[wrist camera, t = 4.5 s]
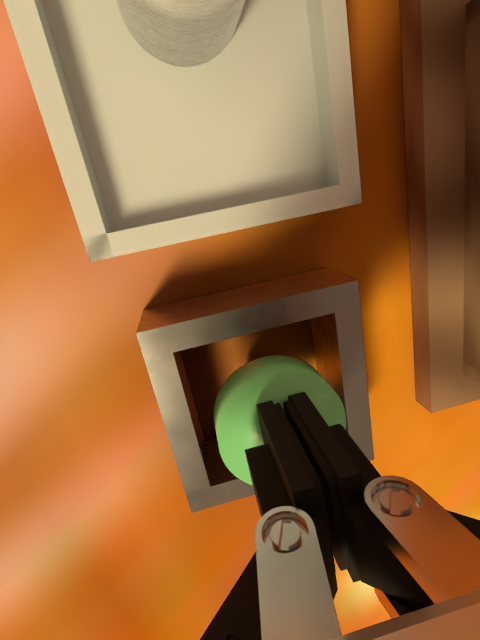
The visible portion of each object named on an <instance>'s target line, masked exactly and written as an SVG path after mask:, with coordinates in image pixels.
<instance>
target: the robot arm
mask: <svg viewBox="0 0 480 640" xmlns="http://www.w3.org/2000/svg"><path fill="white" fill-rule="evenodd" d="M256 408H257V412H258V417H259V422H260V427H261V432H262V436H263V441H264V444H263V445H260V446H256V447H252V448H249V449H245V454H246V459H247V463H248V467H249V471H250V476H251V480H252V484H253V488H254V491H255V495H256V499H257V503H258V506H259V510H260V513H261V519H260V520H259V522H258V524H257V526H256V530H255V544H256V552H255V554H254V555H253V557H252V559H251V560H250V562H249V563H248V565H247V567H246V568H245V570H244V571H243V573H242V574H241V576H240V578H239V579H238V581H237V582H236V584H235V585H234V587H233V589H232V590H231V592H230V593H229V595H228V596H227V598H226V600H225V601H224V603H223V604H222V606H221V607H220V609H219V611H218V612H217V614H216V615H215V617H214V618H213V620H212V622H211V623H210V625H209V626H208V628H207V629H206V631H205V633H204V634H203V636H202V637H201V639H200V640H480V520H477V519H473V518H470V517H467V516H464V515H460V514H457V513H454V512H451V511H448V510H445V509H444V508H443V507H442V506H441V505H440V504H438V503H437V502H436V501H435V500H434V499H433V498H432V497H430V496H429V495H428V494H427V493H426V492H425V491H424V490H423V489H421V488H420V487H419V486H418V485H416V484H415V483H414V482H412V481H410V480H408V479H405V478H403V477H398V476H382V477H381V476H380V474H379V473H378V472H377V470H376V469H375V468H374V466H373V465H372V464H371V462H370V461H369V460H368V459H367V457H366V456H365V455H364V453H363V452H362V451H361V449H360V448H359V447H358V445H357V444H356V443H355V442H354V440H353V439H352V438H351V436H350V435H349V434H348V432H347V431H346V430H345V428H344V427H343V426H342V425H341V424H335V425H332V426H328V424H327V423H326V421H325V420H324V419H323V417H322V416H321V414H320V413H319V411H318V410H317V409H316V407H315V406H314V404H313V403H312V401H311V400H310V399H309V397H308V396H307V394H306V393H305V392H301V393H297V394H293V395H289V396H288V401H284V410H285V413H284V411H283V409H282V407H281V405H280V403H276V404H274V403H273V401H272V400H270V401H267V402H263V403H259V404H256ZM333 555H334V557H333ZM334 558H335V560H336V562H337V564H338V566H339V568H340V570H341V571H342V570H345V569H347V570H348V572H349V574H350V576H351V578H352V580H353V582H356V581H359V580H361V581H362V582H364V583H366V584H368V585H370V586H372V587H374V589H375V593H376V595H377V597H378V599H379V601H380V602H381V604H382V605H383V607H384V608H385V609H386V611H387V612H388V614H389V615H390V617H391V618H392V619H390V620H387V621H384V622H381V623H378V624H375V625H372V626H369V627H366V628H363V629H360V630H358V631H355V632H352V633H349V634H346V635H343V636H342V634H341V630H340V626H339V622H338V618H337V614H336V610H335V606H334V602H333V600H334V597H335V595H336V592H337V590H338V588H337V581H336V575H335V572H336V571H335V564H334Z"/></svg>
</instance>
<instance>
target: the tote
mask: <svg viewBox="0 0 480 640" xmlns="http://www.w3.org/2000/svg"><path fill="white" fill-rule="evenodd" d="M3 1H4V4H5V7H6V10H7V13H8V16H9V19H10V22H11V25H12V28H13V31H14V34H15V37H16V40H17V43H18V46H19V49H20V52H21V55H22V58H23V61H24V64H25V67H26V70H27V73H28V76H29V79H30V82H31V85H32V88H33V91H34V94H35V97H36V100H37V103H38V106H39V109H40V112H41V115H42V118H43V121H44V124H45V127H46V130H47V133H48V136H49V139H50V142H51V145H52V148H53V151H54V154H55V157H56V160H57V163H58V166H59V170H60V173H61V176H62V179H63V182H64V185H65V188H66V191H67V194H68V197H69V200H70V203H71V206H72V209H73V212H74V215H75V218H76V221H77V224H78V227H79V230H80V233H81V236H82V239H83V242H84V245H85V248H86V251H87V254H88V257H89V260H90V262H92V261H97V260H102V259H106V258H111V257H115V256H120V255H125V254H129V253H134V252H139V251H143V250H148V249H152V248H157V247H162V246H166V245H171V244H176V243H180V242H185V241H190V240H194V239H199V238H203V237H208V236H213V235H217V234H222V233H227V232H231V231H236V230H240V229H245V228H250V227H254V226H259V225H264V224H268V223H273V222H277V221H282V220H287V219H291V218H296V217H301V216H305V215H310V214H315V213H319V212H324V211H328V210H333V209H338V208H342V207H347V206H352V205H356V204H361V203H362V197H361V184H360V172H359V160H358V147H357V135H356V122H355V110H354V97H353V85H352V73H351V60H350V48H349V35H348V23H347V11H346V0H245V3H244V6H243V9H242V12H241V15H240V18H239V21H238V24H237V27H236V30H235V32H234V34H233V36H232V38H231V40H230V42H229V43H228V45H227V46H226V47H225V49H224V50H223V51H222V52H221V53H220V54H219V55H217V56H216V57H215V58H213V59H212V60H210V61H209V62H206V63H204V64H202V65H198V66H193V67H178V66H173V65H169V64H167V63H164V62H162V61H160V60H158V59H156V58H154V57H153V56H151V55H150V54H149V53H147V52H146V51H145V50H144V49H143V48H142V47H141V46H140V45H139V44H138V43H137V42H136V41H135V39H134V38H133V37H132V35H131V34H130V32H129V31H128V29H127V27H126V25H125V23H124V21H123V19H122V16H121V14H120V11H119V8H118V4H117V1H116V0H3Z"/></svg>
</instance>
